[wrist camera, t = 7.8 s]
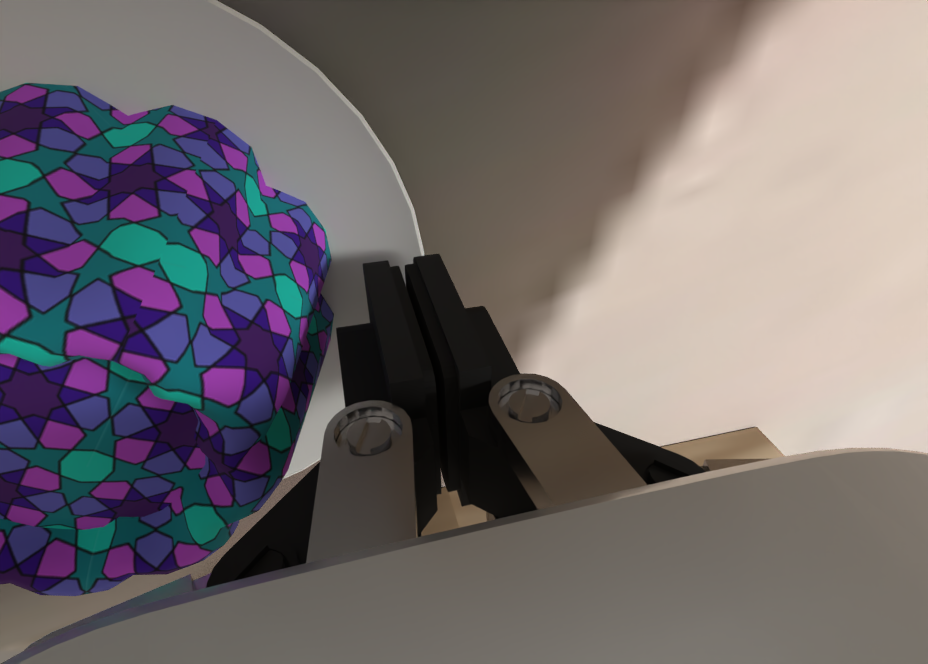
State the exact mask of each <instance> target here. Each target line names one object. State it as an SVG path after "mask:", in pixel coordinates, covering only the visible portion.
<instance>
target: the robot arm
mask: <svg viewBox="0 0 928 664" xmlns="http://www.w3.org/2000/svg"><path fill="white" fill-rule="evenodd" d="M363 273H364V281H365V288H366V296H367V304H368V311H369V319H370V323H365V324H358V325H352V326H345V327H338V328H336V334H337V342H338V351H339V359H340V367H341V376H342V384H343V392H344V401H345V408H344V409H342V410H341V411H340V412H338V413H337V414H335V415H334V417H333V418H332V419H331V420H330V422H329V423H328V424H327V427H326V430H325V433H324V439H323V446H322V453H321V460H320V462H319V463H318V464H317V465H316V466H315V467H314V468H313V469H312V470H311V471H310V472H309V473H308V474H307V475H306V476H305V477H304V478H303V479H302V480H301V481H300V482H299V483H298V484H297V485H296V486H294V487H293V488H292V489H291V490H290V491H289V492H288V493H287V494H286V495H285V496H284V497H283V498H282V499H281V500H280V501H279V502H278V503H277V504H276V505H275V506H274V507H273V508H272V509H271V510H270V511H269V512H268V513H267V514H266V515H265V516H264V517H263V518H262V519H261V520H259V521H258V522H257V523H256V524H255V525H254V526H253V527H252V528H251V529H250V530H249V531H248V532H247V533H246V534H245V535H244V536H243V537H242V538H241V539H240V540H239V541H238V542H237V543H236V544H235V545H234V546H233V547H232V548H231V549H230V550H229V551H228V552H227V553H226V554H225V555H224V556H223V557H222V558H221V559H220V561H219V562H218V563H217V564H216V566H215V567H214V568H213V570H212V573H210V574H208V575H206V576H203V577H201V578H199V579H196V580H193V578H192V577H191V575H187V576H185V577H183V578H180V579H178V580H175V581H173V582H171V583H168V584H166V585H164V586H161V587H159V588H156V589H154V590H152V591H149V592H147V593H144V594H142V595H140V596H137V597H135V598H133V599H130V600H128V601H125V602H123V603H121V604H118V605H116V606H113V607H111V608H109V609H106V610H104V611H102V612H99V613H97V614H94V615H92V616H90V617H87V618H85V619H82V620H80V621H78V622H75V623H73V624H71V625H68V626H66V627H63V628H61V629H59V630H56V631H54V632H51V633H50V634H48V635H46V636H44V637H43V638H41V639H39V640H37V641H36V642H34V643H32V644H31V645H29V646H28V647H27V648H26V649H25V650H24V651H23V652H21V653H19V654H17V655H16V656H14V657H12V658H10V659H8V660H7V661H5V662H3V663H1V664H928V453H923V452H917V451H908V450H899V449H890V448H845V449H833V450H822V451H814V452H809V453H803V454H797V455H790V456H784V457H778V458H772V459H705V461H704V463H703V466H699V465H697V464H696V463H695V462H694V461H692V460H690V459H688V458H686V457H684V456H682V455H680V454H677V453H675V452H672V451H669V450H667V449H664V448H661V447H659V446H656V445H653V444H651V443H648V442H645V441H643V440H640V439H637V438H635V437H632V436H629V435H627V434H624V433H621V432H619V431H616V430H613V429H611V428H608V427H606V426H603V425H600V424H598V423H595V422H593V421H592V420H591V419H590V417H589V416H588V415H587V414H586V413H585V412H584V410H583V409H582V408H581V407H580V406H579V405H578V403H577V402H576V401H575V400H574V399H573V398H572V396H571V395H570V394H569V393H568V392H567V391H566V389H565V388H563V387H562V386H561V385H560V384H559V383H558V382H556V381H554V380H552V379H550V378H548V377H545V376H541V375H537V374H520V373H519V371H518V369H517V367H516V365H515V363H514V361H513V359H512V357H511V355H510V354H509V352H508V350H507V348H506V346H505V344H504V342H503V340H502V338H501V336H500V334H499V333H498V331H497V329H496V327H495V325H494V323H493V321H492V319H491V317H490V315H489V313H488V312H487V310H486V308H485V307H483V306H479V307H472V308H464V306H463V304H462V301H461V299H460V297H459V295H458V293H457V291H456V289H455V286H454V284H453V282H452V280H451V278H450V276H449V274H448V271H447V269H446V267H445V265H444V263H443V261H442V259H441V256H440V255H439V254H433V255H425V256H417V257H414V258H413V264H407V265H405V280H406V285H405V282H404V279H403V276H402V273H401V270H400V267H399V266H392V267H390V264H389V261H388V260H386V261H378V262H370V263H363ZM440 468H441V472H442V475H443V479H444V482H445V486H446V489H447V491H448V492H452V491H457V493H458V496H459V499H460V503H461V506H467V505H471V504H472V505H474V506H476V507H478V508H480V509H482V510H484V511H486V519H487V521H486V522H482V523H478V524H473V525H469V526H465V527H460V528H456V529H451V530H447V531H443V532H438V533H434V534H430V535H425V536H422V531H423V529H424V528H425V527H426V525H427V524H428V523H429V521H430V520H431V519H432V517H433V516H434V515H435V513H436V512H437V511H438V508H437V495H438V494H441V472H440Z"/></svg>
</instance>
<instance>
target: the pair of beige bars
mask: <svg viewBox="0 0 928 664" xmlns="http://www.w3.org/2000/svg"><path fill="white" fill-rule="evenodd" d="M661 448H664V449H667V450H669V451H672V452H675V453H677V454H680V455H682V456H684V457H686V458H688V459H690V460H692V461H694V462H695V463H696V464H697V465H699V466H703V463H704V461H705V459H772V458H778V457H784V455H783V454H782V453H781V452H780V451H779V450H778V448H777V447H776V446H775V445H774V444H773V443H772V442H771V441H770V440H769V439H768V438H767V437H766V436H765V435H764V434H763V433H762V432H761V431H760V430H759V429H758V428H757V427H754V428H750V429H745V430H740V431H735V432H731V433H726V434H721V435H716V436H712V437H707V438H702V439H697V440H692V441H688V442H683V443H678V444H673V445H669V446H664V447H661ZM437 508H438V511H437V512H436V513H435V515H434V516H433V517H432V519H431V520H430V521H429V523H428V524H427V525H426V527H425V528H424V529H423V531H422V536H425V535H430V534H434V533H438V532H443V531H447V530H451V529H456V528H460V527H465V526H469V525H473V524H478V523H482V522H486V521H487V519H486V511H484V510H482V509H480V508H478V507H476V506H474V505H472V504H471V505H467V506H461V503H460V499H459V496H458V493H457V491H452V492H448V491H447V489H446V487H444V488H441V494H438V495H437Z"/></svg>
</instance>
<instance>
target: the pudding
mask: <svg viewBox="0 0 928 664" xmlns="http://www.w3.org/2000/svg"><path fill="white" fill-rule="evenodd" d="M417 256H424V250H423V245H422V241H421V237H420V232H419V228H418V224H417V219H416V215H415V211H414V207H413V205H412V203H411V201H410V198H409V196H408V194H407V191H406V189H405V187H404V185H403V182H402V180H401V178H400V176H399V173H398V171H397V169H396V166H395V164H394V162H393V161H392V159H391V158H390V156H389V155H388V153H387V152H386V150H385V149H384V147H383V146H382V144H381V143H380V141H379V140H378V138H377V137H376V135H375V134H374V132H373V131H372V129H371V128H370V126H369V125H368V123H367V122H366V120H365V119H364V117H363V116H362V114H361V113H360V112H359V111H358V110H357V109H356V108H355V107H354V106H353V105H352V104H351V103H350V102H349V101H348V100H347V98H346V97H345V96H344V95H343V94H342V93H341V92H340V91H339V90H338V89H337V88H336V87H335V86H334V85H333V84H332V83H331V82H330V80H329V79H328V78H327V77H326V76H325V75H324V74H323V73H322V72H321V71H320V70H319V69H318V68H317V67H316V66H314V65H313V64H312V63H310V62H309V61H308V60H307V59H305V58H304V57H303V56H301V55H300V54H299V53H297V52H296V51H295V50H294V49H292V48H291V47H290V46H288V45H287V44H286V43H284V42H283V41H282V40H281V39H279V38H278V37H277V36H275V35H274V34H273V33H271V32H270V31H269V30H268V29H266V28H265V27H264V26H262V25H261V24H259V23H257V22H255V21H254V20H252V19H250V18H248V17H246V16H244V15H243V14H241V13H239V12H237V11H235V10H234V9H232V8H230V7H228V6H226V5H224V4H223V3H221V2H219V1H217V0H0V584H7V583H11V584H14V585H16V586H19V587H22V588H24V589H27V590H29V591H32V592H35V593H37V594H40V595H61V596H78V595H83V594H89V593H94V592H99V591H105V590H109V589H111V588H113V587H115V586H116V585H118V584H119V583H121V582H123V581H124V580H126V579H127V578H129V577H131V576H132V575H151V574H169V573H171V572H174V571H177V570H180V569H182V568H185V567H188V566H191V565H193V564H196V563H198V562H201V561H203V560H204V559H206V558H207V557H208V556H210V555H211V554H212V553H214V552H215V551H216V550H218V549H219V548H220V547H222V546H223V545H224V544H225V543H226V542H227V541H228V539H229V538H230V537H231V536H232V534H233V533H234V531H235V529H236V528H237V526H238V523H239V520H240V519H242V518H245V517H247V516H249V515H251V514H253V513H255V512H257V511H258V510H259V509H260V508H261V507H262V506H263V504H264V503H265V502H266V501H267V500H268V498H269V497H270V496H271V494H272V493H273V491H274V490H275V489H276V487H277V486H278V485H279V483H280V482H281V480H282V479H284V478H287V477H289V476H291V475H293V474H296V473H298V472H300V471H302V470H304V469H306V468H307V467H309V466H311V465H312V464H314V463H315V462H317V461H319V460H320V459H321V453H322V446H323V439H324V433H325V430H326V427H327V424H328V423H329V422H330V420H331V419H332V418H333V417H334V415H335V414H337V413H338V412H340V411H341V410H342V409H344V408H345V401H344V392H343V384H342V376H341V367H340V359H339V351H338V342H337V334H336V328H338V327H345V326H352V325H358V324H365V323H370V319H369V311H368V304H367V296H366V288H365V281H364V273H363V263H370V262H378V261H386V260H388V261H389V264H390V267H392V266H399V267H400V270H401V273H402V276H403V279H404V282H405V285H406V280H405V265H407V264H413V258H414V257H417Z"/></svg>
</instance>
